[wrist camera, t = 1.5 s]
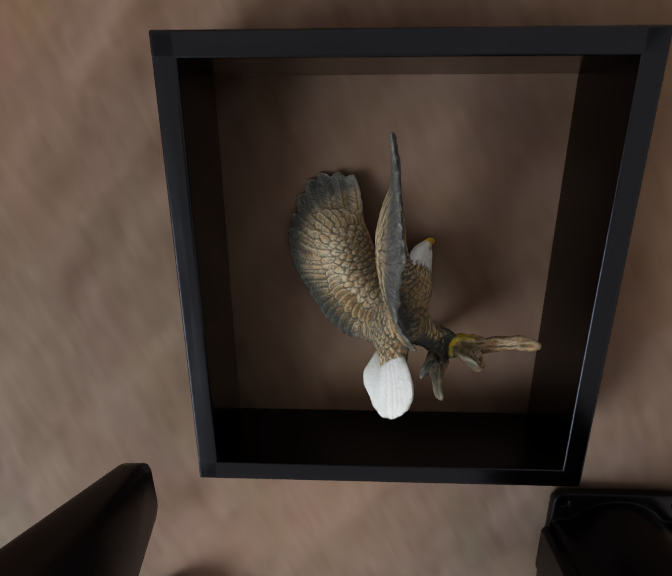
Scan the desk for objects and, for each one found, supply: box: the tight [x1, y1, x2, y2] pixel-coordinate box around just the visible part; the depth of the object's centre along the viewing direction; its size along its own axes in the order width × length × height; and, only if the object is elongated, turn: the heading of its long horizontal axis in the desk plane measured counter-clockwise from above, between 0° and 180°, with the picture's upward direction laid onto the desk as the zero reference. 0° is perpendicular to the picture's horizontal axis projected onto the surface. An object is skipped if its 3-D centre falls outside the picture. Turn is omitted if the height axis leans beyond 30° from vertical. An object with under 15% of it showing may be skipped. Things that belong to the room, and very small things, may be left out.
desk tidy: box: [149, 25, 672, 487], centre depth 18 cm, size 16×17×4 cm
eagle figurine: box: [288, 132, 542, 419], centre depth 17 cm, size 8×7×9 cm
